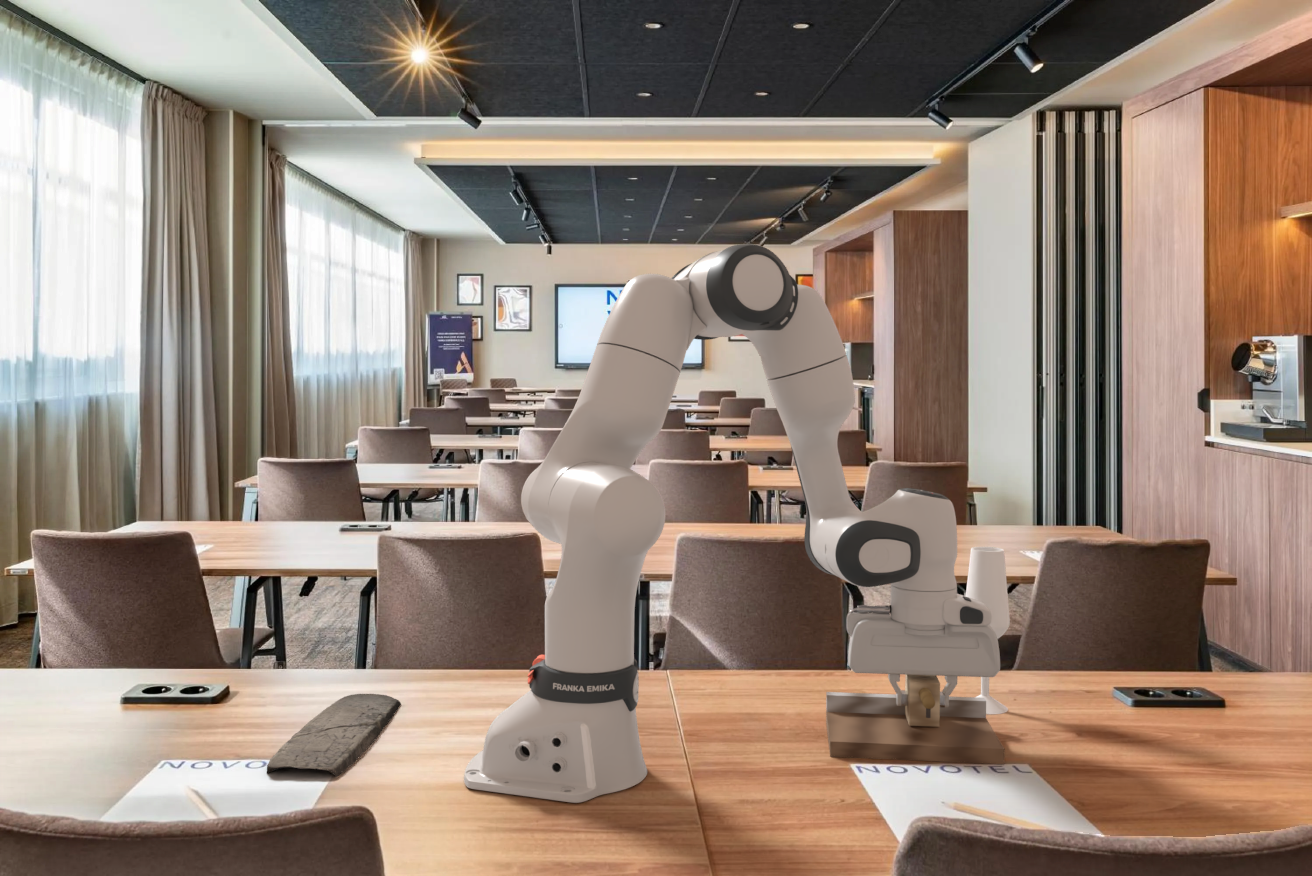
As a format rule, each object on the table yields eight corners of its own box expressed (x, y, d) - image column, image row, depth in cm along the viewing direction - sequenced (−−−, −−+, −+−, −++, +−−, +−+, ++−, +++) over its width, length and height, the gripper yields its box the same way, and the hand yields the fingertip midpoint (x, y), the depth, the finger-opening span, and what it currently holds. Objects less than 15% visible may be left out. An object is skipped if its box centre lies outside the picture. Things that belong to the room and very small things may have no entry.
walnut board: (830, 756, 135) (830, 723, 135) (826, 722, 149) (826, 691, 149) (1004, 764, 133) (1004, 730, 132) (983, 728, 147) (984, 697, 146)
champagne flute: (1002, 701, 159) (1005, 546, 158) (1013, 715, 153) (1016, 553, 151) (957, 699, 160) (960, 545, 159) (966, 713, 153) (968, 552, 152)
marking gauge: (912, 735, 137) (913, 691, 137) (904, 713, 146) (905, 671, 146) (943, 737, 137) (944, 692, 136) (933, 714, 145) (934, 672, 145)
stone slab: (408, 692, 158) (339, 755, 128) (408, 713, 158) (339, 781, 128) (341, 692, 158) (256, 755, 128) (341, 713, 158) (257, 781, 128)
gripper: (847, 609, 140) (847, 710, 141) (1003, 613, 138) (1002, 715, 139) (845, 599, 147) (844, 696, 147) (994, 603, 144) (992, 701, 145)
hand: (922, 705), depth 143 cm, fingers closed on marking gauge, 4 cm apart
